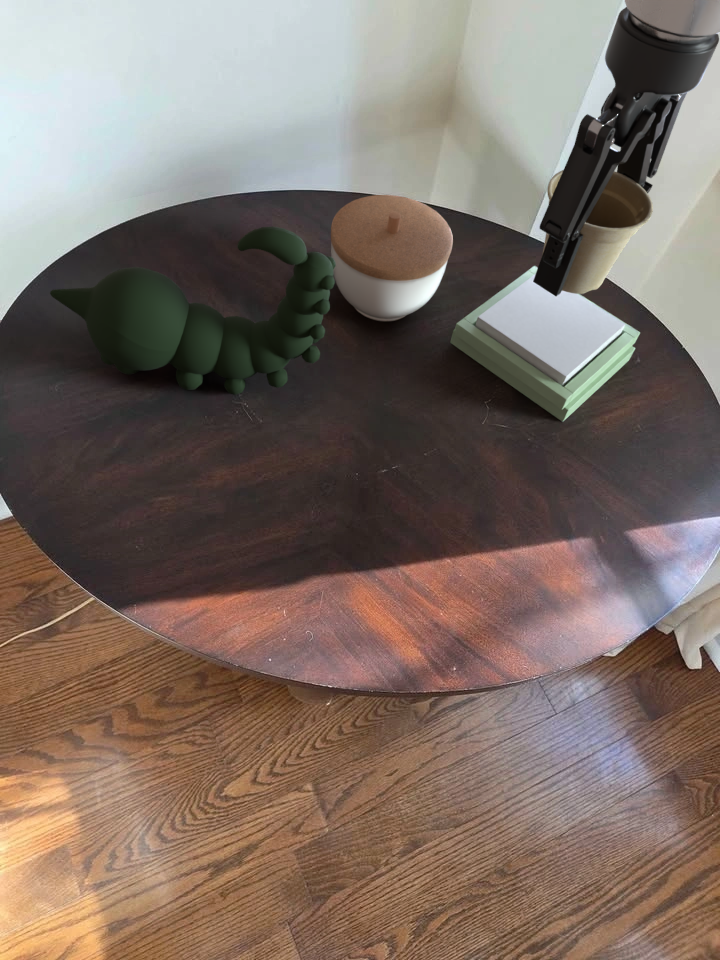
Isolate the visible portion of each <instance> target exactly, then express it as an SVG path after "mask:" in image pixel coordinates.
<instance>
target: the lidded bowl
mask: <svg viewBox="0 0 720 960" xmlns="http://www.w3.org/2000/svg"><path fill="white" fill-rule="evenodd" d="M453 243H454V239H453V233H452V230H451V227H450V225H449V224H448V222H447V220H446V219H445V218H444V217H443V216H442V215H441V214H440V213H439V212H438V211H437V210H435V209H433V208H432V207H431V206H429V205H427V204H425V203H423V202H421V201H418V200H415V199H413V198H409V197H405V196H400V195H394V194H393V195H392V194H374V195H367V196H364V197H360V198H357V199H353V200H352V201H350V202H348V203H346V204H345V205H344V206H343V207H341V208H340V209H339V210H338V211H337V212H336V213H335V215H334V217H333V218H332V222H331V225H330V251H331V252H330V257H332V258H333V259H334V260H335V262H336V266H335V268H334V270H333V272H334V273H333V278H334V280H335V284H336V286H337V289H338V291H339V292H340V294H341V295H342V297H343V298H344V299H345V300H346V302H347V303H349V304H350V305H351V306H352V307H353V308H354V309H355V310H356V311H357V312H358V313H359V314H361V315H362V316H364V317H366V318H368V319H370V320H373V321H378V322H394V321H398V320H401V319H403V318H405V317H407V316H408V315H411V314H413V313H415V312H416V311H418V310H419V309H421V308H422V307H424V306H425V305H426V304H427V303H428V302H429V301H430V300H431V298H432V297H433V296H434V295H435V293H436V292H437V290H438V288H439V286H440V285H441V281H442V279H443V276H444V275H445V272H446V269H447V264H448V260H449V258H450V255H451V253H452V249H453Z"/></svg>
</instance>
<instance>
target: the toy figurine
mask: <svg viewBox="0 0 720 960" xmlns="http://www.w3.org/2000/svg"><path fill="white" fill-rule="evenodd" d="M236 248H237V249H238V250H239V251H240V252H245V251H247V250H252V249H253V250H260V251H263V252H266V253H269V254H270V255H273V256H274V257H276V258H277V259H278V260H280V261H281V262H283V263H285V264H286V265H290V266H293V274H292V276H291V277H290V278H289V279H288V281H287V283H286V287H285V296H283V298H281V299H280V302H279V303H278V305H277V310H276V312H275V313H273V315H271V316H270V317H269V319H268V320H260V321H257V322H254V321H253V320H251V319H249V318H246V317H244V316H238V315H230V316H224V315H223V314H222V313H220V311H218V309H215V308H214V307H212V306H211V305H208V304H206V303H201V302H200V303H199V302H189V301H188V299H187V297H186V295H185V293H184V292H183V290H182V289H181V288H180V286H179V285H178V284H177V283H176V282H174V281H173V280H172V279H171V278H170V277H168V276H166V275H165V274H163V273H161V272H159V271H156V270H153V269H150V268H146V267H142V266H133V267H125V268H121V269H118V270H115V271H112V272H111V273H109V274H108V275H105V276H104V277H103V278H102V279H101V280H100V281H98V283H96V284H95V285H94V286H90V287H77V288H75V287H74V288H56V289H52V290H50V292H49V294H50V297H52V298H53V299H55V300H56V301H57V302H59V303H60V304H62V305H63V306H65V307H66V308H68V309H69V310H71V311H72V312H73V313H75V314H76V315H78V316H79V317H81V318H82V319H83V320H84V322H85V325H86V329H87V331H88V335H89V337H90V340H91V341H92V342H93V344H94V346H95V348H96V349H97V350H98V352H99V353H100V359H101V361H102V362H103V363H104V364H105V365H109V366H112V365H114V366H115V369H117V371H119V372H120V373H122V374H125V375H134V374H137V373H138V372H141V371H152V370H157V369H160V368H163V367H165V366H167V365H171V366H172V367H173V368H175V369H176V371H175V379H176V383H177V384H178V386H179V387H180V388H182V389H184V390H185V391H194V390H197V388H198V387H200V386H201V385H202V384H203V380H204V375H207V374H210V373H213V372H214V373H215V374H217V375H218V376H219V377H222V378H224V379H225V380H224V384H223V387H224V388H225V391H226V392H227V393H228V394H230V395H232V396H233V395H234V396H238V395H240V394H242V393H243V392H244V390H245V388H246V379H249V378H252V377H253V376H255V375H257V373H258V374H263V375H266V380H267V383H268V385H269V386H271V387H273V388H276V389H279V388H283V387H284V385H286V383H287V382H288V373H287V370H286V369H285V367H286V366H288V364H289V362H290V361H291V360H292V359H293V360H294V359H296V358H299V357H300V356H301V358H302V359H303V361H304V362H305V363H308V364H315V363H316V362H317V361H319V360H320V356H321V351H320V349H319V348H318V347H317V345H314V344H317V343H318V342H319V341H320V340H322V339H323V338H324V337H325V335H326V328H325V327H324V326H323V324H322V323H323V319H324V315H326V314H328V313H329V311H330V308H331V304H330V301H329V299H330V296H331V290H332V289H333V288H334V286H335V284H336V281H335V279H334V274H333V273H334V272H333V270H334V268H335V266H336V262H335V260H334V259H333V258H332V257H331V255H330V256H329V255H325V254H324V253H322V252H320V251H307V250H308V249H307V246H306V243H305V241H304V240H303V239H302V237H301V236H300V235H298V234H296V233H295V232H294V231H292V230H289V229H286V228H284V227H279V226H262V227H258V228H255V229H253V230H251V231H249V232H248V233H246V234H245V235H244V236H242V237H241V238H240V239H239V241H238V243H237V247H236Z"/></svg>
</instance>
